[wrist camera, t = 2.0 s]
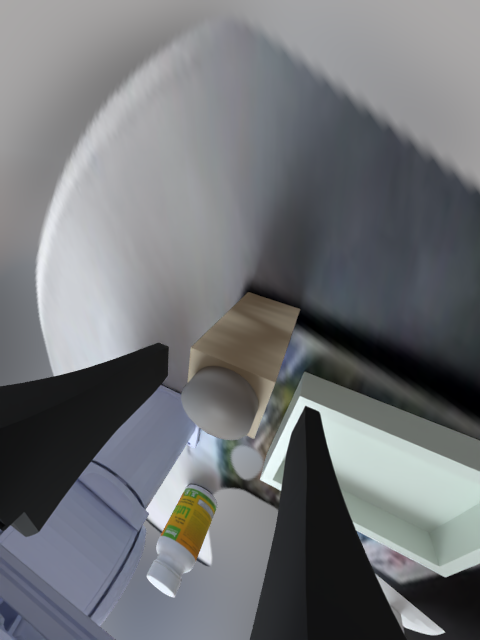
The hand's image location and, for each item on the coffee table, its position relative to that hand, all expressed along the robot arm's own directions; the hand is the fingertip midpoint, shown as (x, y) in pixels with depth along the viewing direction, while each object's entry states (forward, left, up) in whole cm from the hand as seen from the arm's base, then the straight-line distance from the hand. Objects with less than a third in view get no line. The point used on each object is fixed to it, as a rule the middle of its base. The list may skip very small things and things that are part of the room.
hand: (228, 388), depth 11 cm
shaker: (0, 0, -8) cm, 8 cm away
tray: (+12, -9, -8) cm, 17 cm away
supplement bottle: (-2, -32, -8) cm, 33 cm away
